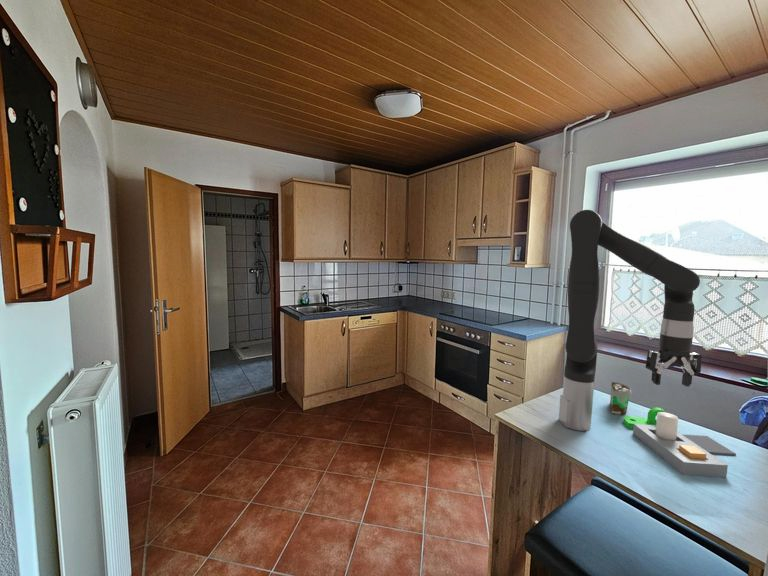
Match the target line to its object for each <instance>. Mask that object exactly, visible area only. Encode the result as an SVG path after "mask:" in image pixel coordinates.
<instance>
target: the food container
mask: <svg viewBox="0 0 768 576" xmlns="http://www.w3.org/2000/svg"><path fill="white" fill-rule="evenodd" d="M610 387H611V388H610V397H609V398H610V401H609V404H610V411H611V415H614V416H615V415H618V416H624V415H627V411H628V407H629V400H630V397H631V396H632V395H633V393H632V389H631V387H630V386H628V385H626V384H624V383H622V382H618V381H614V380H612V381H611V386H610Z"/></svg>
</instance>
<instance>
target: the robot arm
mask: <svg viewBox="0 0 768 576" xmlns="http://www.w3.org/2000/svg"><path fill="white" fill-rule="evenodd" d="M569 231H570V238H571V258H570V261H569V263H570V264H569V269H568V279H567V308H568V327H567V335H566V341H565V344H564V345H565V346H564V347H565V348H564V349H565V353H566V359H565V366H564V371H563V386H562V387H563V389H562V394H560V397H559V406H558V407H559V408H558V409H559V410H558V421H559V422H560V423H561V424H562V426H564V427H565V428H567V429H572V430H575V431H579V432H586V431H589V430H591V428H592V427H591V425H592V417H593V404H594V401H593V400H594V393H595V392H594V390H595V379H596V378H595V376H596V370H597V359H598V358H597V356H598V342H597V340H596V338H595V320H596V319H595V318H596V314H597V310H598V303H599V296H600V281H601V277H600V268H599V267H600V266H599V258H598V257H599V256H598V255H599V254H598V248H599V247H601V248H604V249H606V250H607V251H608V252H609V253H612V254H613V255H615V256H617V257H618V258H619V259H621V260H623V261H624V262H625V263H626V264H628V265H630V266H632V267H634V268H635V269H637V270H638V271H640V272H642V273H644V274H645V275H647V276H649V277H652V278H654V279H655V280H657V281H658V282H661V283H662V284H663V285H664V305H663V313H662V320H661V324H660V332H659V340H658V341H659V342H658V347H659V351H653V350H650V349H649V350H648V351H647V355H646V361H645V369H647V370H649V371H651V382H652V384H655V385H656V386H660V385H661V379H662V372H663V371H664V370H666V369H668V368H669V367H671V368H672V367H673V368H674V367H676V368H681V369H682V371H683V372H682V377H681V385H683V386H685V387H690V386H691V385H692V384H693V383H692V382H693V376H694V375H695V374H701V372H702V355H701V354H700V353H696V352H694V351H692V349H693V348H692V347H693V341H694V340H693V338H694V330H695V329H694V328H695V326H694V319H695V304H694V302H693V297H694V296H693V295H694V291H696V290H697V289H698V288H699V286H700V284H701V279H700V276H699V275H698V274H697V273H696V271H693V270H691V269H690V268H688V267H685V266H684V265H682V264H680V263H677V262H675V261H673V260H670V259H668V258H667V257H666V256H665V255H664V254H663V255H662V254H661V253H659V252H658V251H656V250H654V249H652V248H651V247H649V246H647V245H645V244H644V243H643V244H642V243H641V242H639V241H637V240H634V239H633V238H630V237H627V236H626V235H624V234H622V233H619V232H618V231H616V230H614V229H613V228H611V227H610V226H608V224H606V223H605V222H604V221H603V220H602V217H601V216H600V215H599V213H598V212H596V211H595V210H592V209H583V210H580V211H578V212H576V213H575V214H574V215H573V216H572V218H570V222H569ZM691 351H692V352H691ZM689 360H690V361H689ZM688 361H689V362H690V363H689V362H688Z"/></svg>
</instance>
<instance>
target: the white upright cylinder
mask: <svg viewBox="0 0 768 576" xmlns="http://www.w3.org/2000/svg"><path fill="white" fill-rule="evenodd" d="M666 412H667V411H665V412H658V413H657V416H656V419H657V423H656V433H655V435H656V436H657V437H659V438H660V439H661V440H667V441H676V436H677V432H678V427H679V417H678V416H677V415H675V414H672V413H671V412H670V413H669V412H667V413H666Z"/></svg>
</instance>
